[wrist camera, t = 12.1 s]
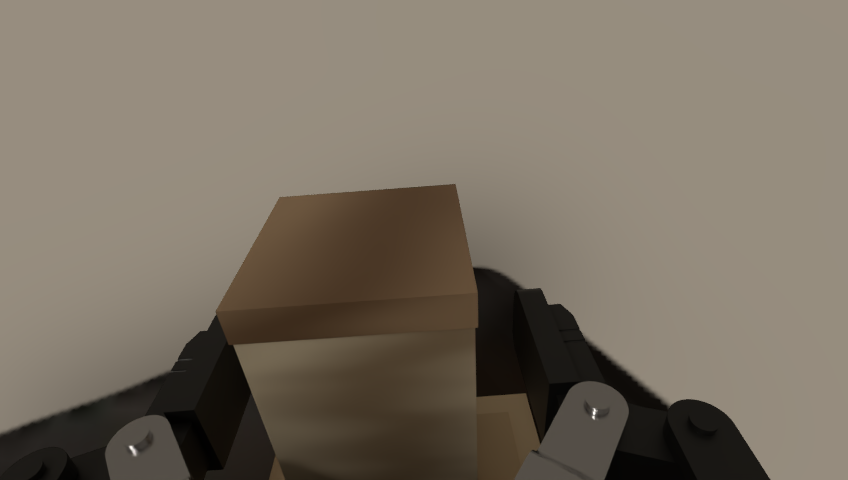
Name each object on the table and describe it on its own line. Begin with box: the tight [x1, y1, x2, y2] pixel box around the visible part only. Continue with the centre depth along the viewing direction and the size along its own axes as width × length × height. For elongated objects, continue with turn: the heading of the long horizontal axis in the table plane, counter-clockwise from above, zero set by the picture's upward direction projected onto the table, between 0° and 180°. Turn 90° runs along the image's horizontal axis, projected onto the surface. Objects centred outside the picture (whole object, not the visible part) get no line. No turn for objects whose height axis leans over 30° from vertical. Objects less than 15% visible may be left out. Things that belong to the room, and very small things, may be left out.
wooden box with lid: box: [216, 184, 478, 480], centre depth 13 cm, size 5×5×12 cm
